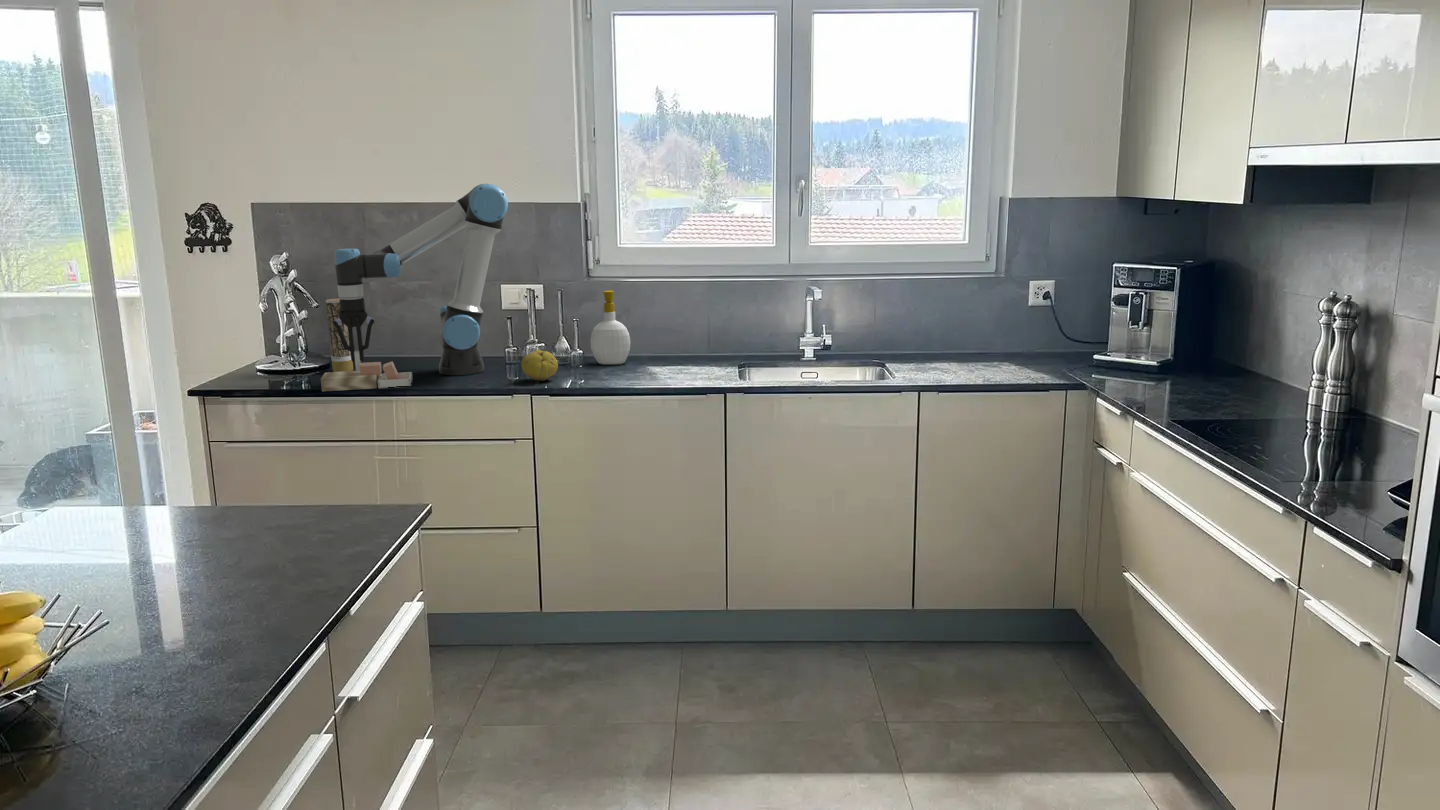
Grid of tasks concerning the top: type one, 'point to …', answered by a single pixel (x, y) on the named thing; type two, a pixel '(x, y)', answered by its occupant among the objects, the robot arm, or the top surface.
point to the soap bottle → (610, 336)
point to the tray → (403, 381)
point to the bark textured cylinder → (337, 339)
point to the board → (348, 381)
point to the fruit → (539, 365)
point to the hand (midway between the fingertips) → (358, 370)
